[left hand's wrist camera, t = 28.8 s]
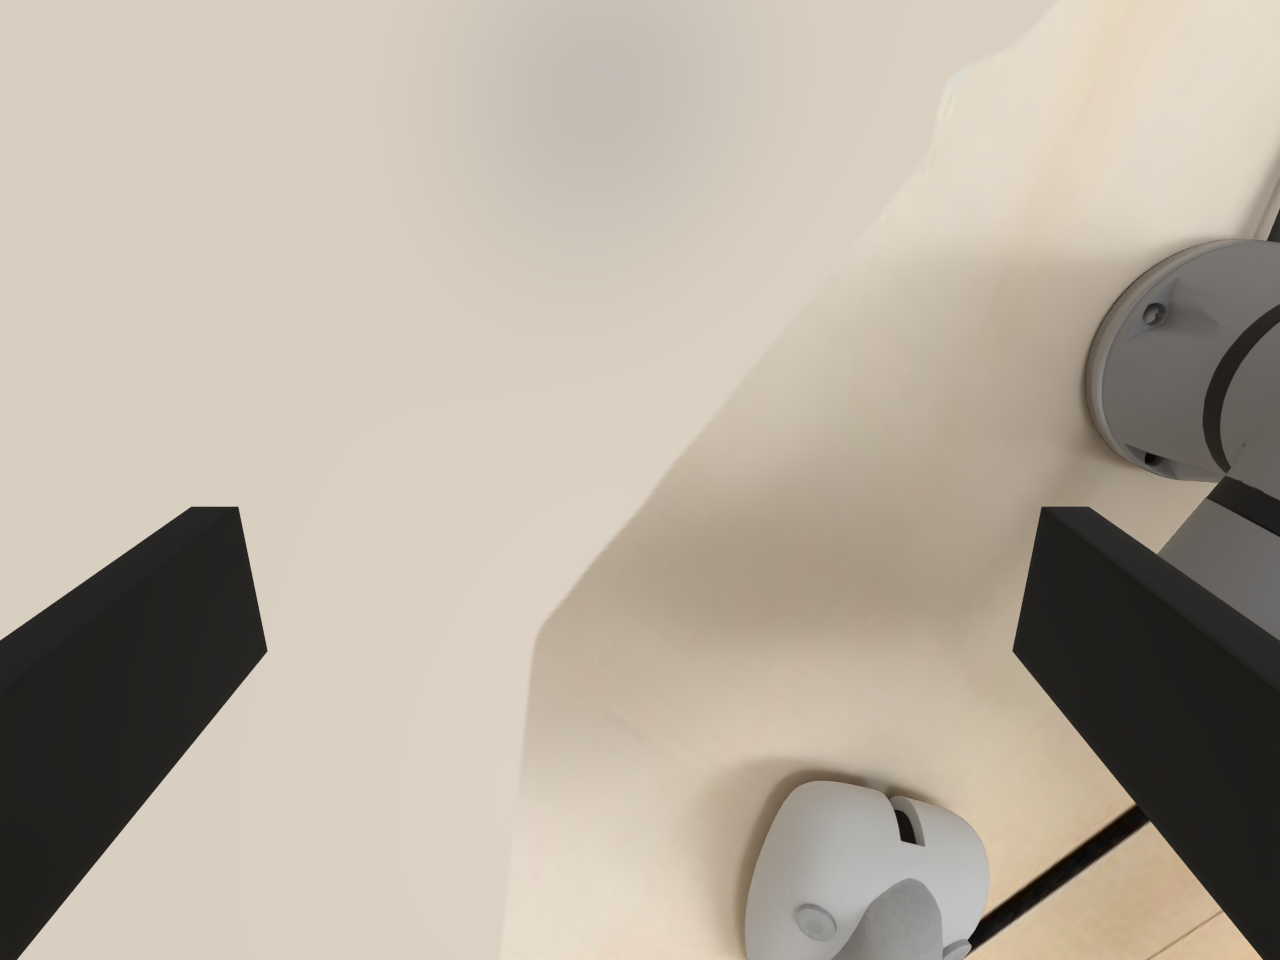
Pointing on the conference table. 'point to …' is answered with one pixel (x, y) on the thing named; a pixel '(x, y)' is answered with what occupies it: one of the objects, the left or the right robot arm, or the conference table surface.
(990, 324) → the conference table surface
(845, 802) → the projector
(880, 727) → the conference table surface
